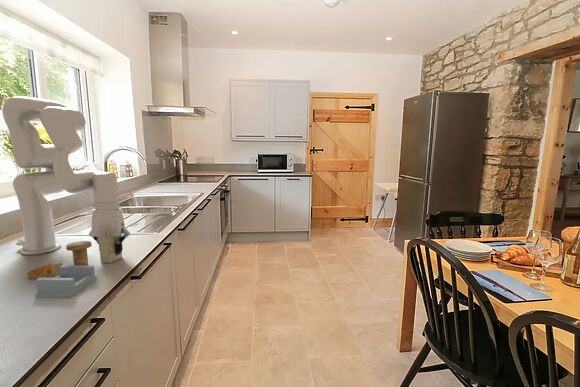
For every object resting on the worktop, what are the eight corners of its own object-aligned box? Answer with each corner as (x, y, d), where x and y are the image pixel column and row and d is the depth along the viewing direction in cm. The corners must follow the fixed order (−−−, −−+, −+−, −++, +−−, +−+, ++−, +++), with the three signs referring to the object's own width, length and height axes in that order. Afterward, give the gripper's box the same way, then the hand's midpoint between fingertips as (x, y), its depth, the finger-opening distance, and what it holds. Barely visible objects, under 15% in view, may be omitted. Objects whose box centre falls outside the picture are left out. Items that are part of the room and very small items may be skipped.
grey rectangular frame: (35, 297, 86) (33, 281, 85) (65, 278, 98) (63, 264, 97) (71, 297, 86) (69, 281, 85) (96, 278, 98) (95, 264, 97)
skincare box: (110, 263, 110) (107, 231, 108) (100, 262, 111) (97, 230, 109) (123, 257, 116) (120, 226, 114) (113, 256, 117) (110, 225, 115)
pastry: (23, 282, 95) (22, 270, 95) (33, 273, 101) (31, 262, 101) (59, 278, 98) (58, 267, 98) (66, 270, 105) (65, 259, 104)
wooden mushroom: (64, 276, 99) (60, 247, 97) (78, 267, 106) (75, 240, 104) (85, 276, 99) (82, 247, 97) (98, 267, 106) (95, 240, 104)
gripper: (76, 207, 106) (81, 256, 109) (125, 208, 106) (129, 256, 110) (90, 203, 113) (94, 249, 116) (135, 203, 114) (138, 249, 117)
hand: (111, 252), depth 113 cm, fingers closed on skincare box, 5 cm apart
